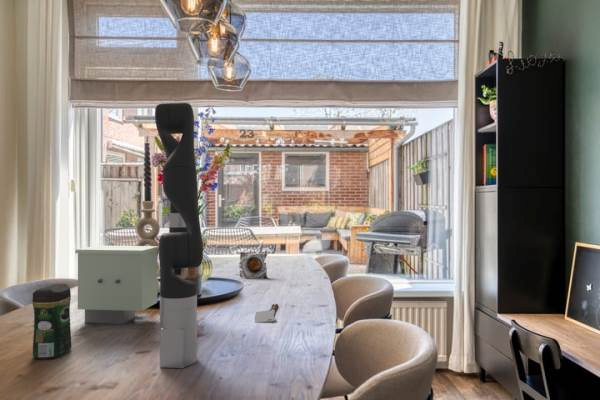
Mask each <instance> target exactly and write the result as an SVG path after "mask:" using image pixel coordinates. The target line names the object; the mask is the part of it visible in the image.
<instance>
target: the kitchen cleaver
mask: <svg viewBox="0 0 600 400" xmlns="http://www.w3.org/2000/svg"><path fill="white" fill-rule="evenodd" d="M278 308H279V304H278V303H274V304H271V307H270V309H269V310H262V311H256V312H255V315H254V318H255V319H254V320H255V322H254V320H253V323H255V324H257V323H258V324H259V323H262V324H266V323H268V324H272V323H277V319H276V318H275V314H276V312H277V310H278Z"/></svg>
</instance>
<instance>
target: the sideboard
mask: <svg viewBox="0 0 600 400" xmlns="http://www.w3.org/2000/svg"><path fill="white" fill-rule="evenodd" d="M158 251H159V245H158V246H156V245H154V246H153V245H93V246H92V245H91V246H87V247H83V248H77V249H75V254H77V310H84V323H86V324H89V323H91V324H93V323H94V324H117V325H118V324H119V325H120V324H122V325H123V324H124V325H125V324H126V323H128V322H130V321H133V317H134V316H136V312H143V311H145V310H146V309H148V308H150V307H152V306H153V305H155V304H157V303H158V277H157V269H158Z"/></svg>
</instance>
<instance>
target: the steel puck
mask: <svg viewBox="0 0 600 400" xmlns="http://www.w3.org/2000/svg"><path fill="white" fill-rule="evenodd" d="M132 321H133V324H135V325H143V324H148V323H149V322H150V316H149V315H148V314H137V315H135V316H134V317H133V319H132Z"/></svg>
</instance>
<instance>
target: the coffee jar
mask: <svg viewBox="0 0 600 400" xmlns="http://www.w3.org/2000/svg"><path fill="white" fill-rule="evenodd" d="M71 293H72V292H71V287H70V286H69V285H68V284H66V283H59V284H58V283H52V284H50V285H47V286H45V287H42V288H38V289H36V290H35V291H33V292H32V300H31V301H32V302H31V304H32V307H33V316H34V317H33V337H32V338H33V339H32V341H33V342H32V358H35V359H38V360H48V359H54V358H59V357H61V356H63V355H64V354H66V353H67V352H69V351H70V350H71V349H72V332H71V308H70V307H71V299H72V298H71V297H72V295H71Z"/></svg>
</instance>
